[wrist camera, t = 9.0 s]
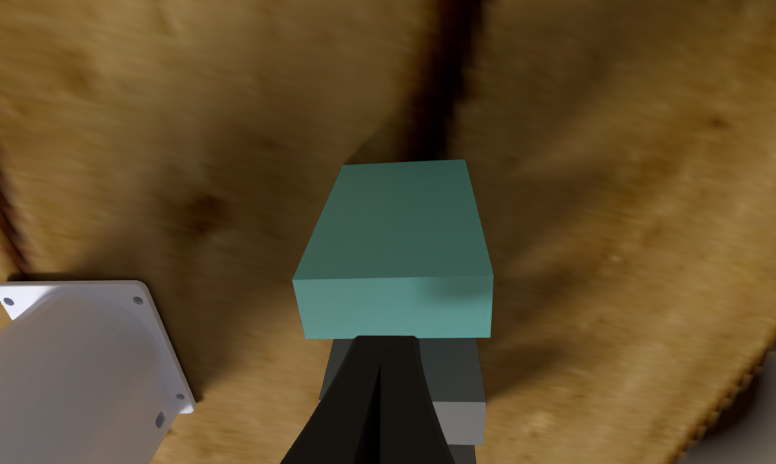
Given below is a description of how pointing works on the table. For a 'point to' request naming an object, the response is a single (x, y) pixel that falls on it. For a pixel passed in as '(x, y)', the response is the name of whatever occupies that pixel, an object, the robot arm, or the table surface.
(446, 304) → the teal domino
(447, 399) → the grey domino block
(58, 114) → the table surface
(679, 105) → the table surface
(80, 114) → the table surface
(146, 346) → the robot arm
